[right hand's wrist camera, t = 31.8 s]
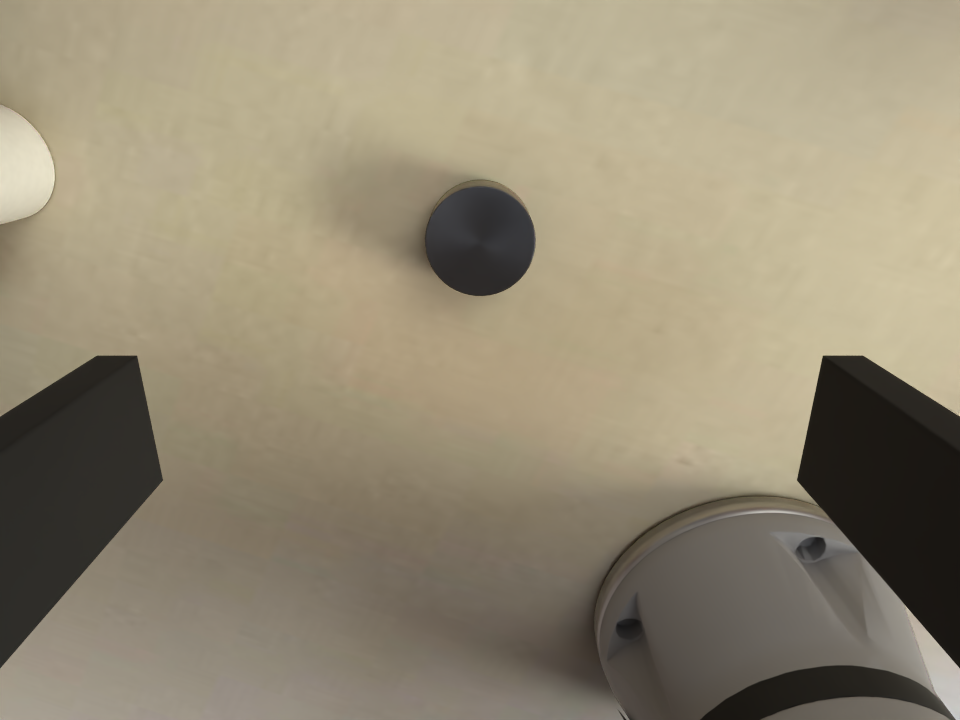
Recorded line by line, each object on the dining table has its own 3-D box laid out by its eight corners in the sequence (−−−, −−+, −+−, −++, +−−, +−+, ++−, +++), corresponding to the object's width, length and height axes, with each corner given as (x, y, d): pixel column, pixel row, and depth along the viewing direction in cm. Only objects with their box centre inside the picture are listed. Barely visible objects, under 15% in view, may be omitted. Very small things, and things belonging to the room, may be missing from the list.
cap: (448, 295, 28) (446, 309, 26) (414, 199, 26) (409, 207, 24) (543, 264, 27) (548, 277, 25) (514, 165, 26) (517, 170, 24)
